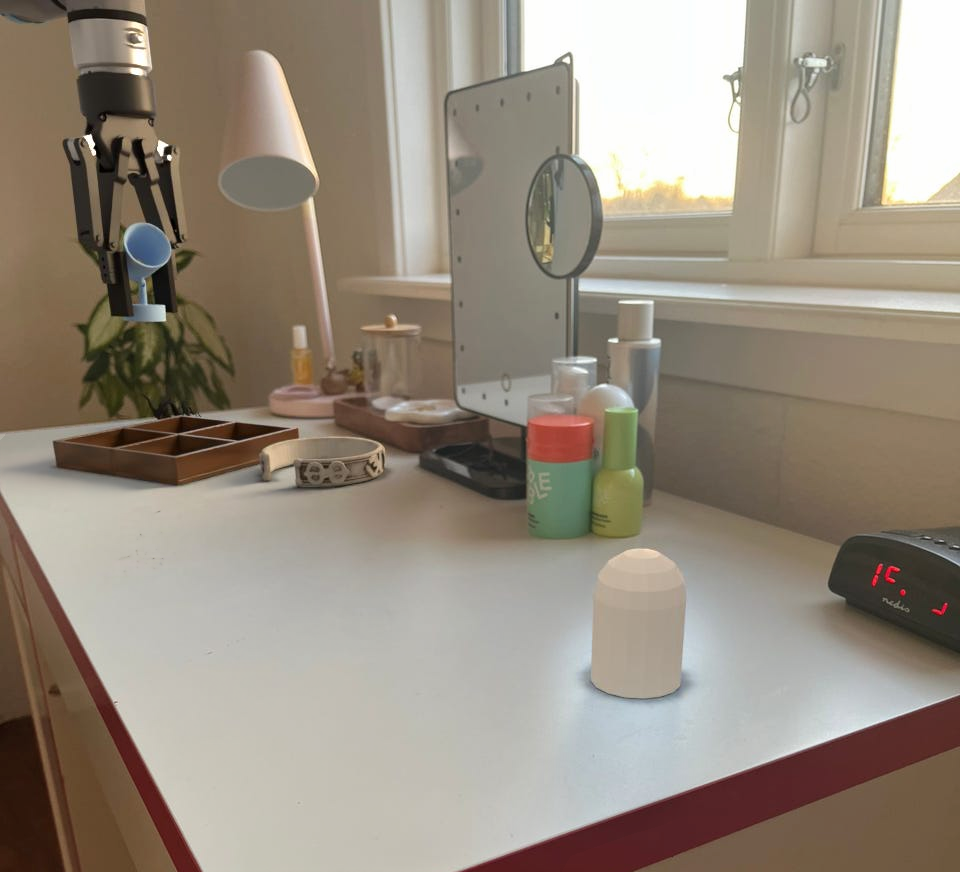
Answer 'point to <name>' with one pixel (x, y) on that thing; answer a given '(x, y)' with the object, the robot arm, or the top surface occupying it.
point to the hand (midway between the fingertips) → (145, 313)
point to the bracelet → (325, 460)
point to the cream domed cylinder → (638, 625)
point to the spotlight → (145, 266)
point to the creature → (163, 409)
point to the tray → (171, 448)
